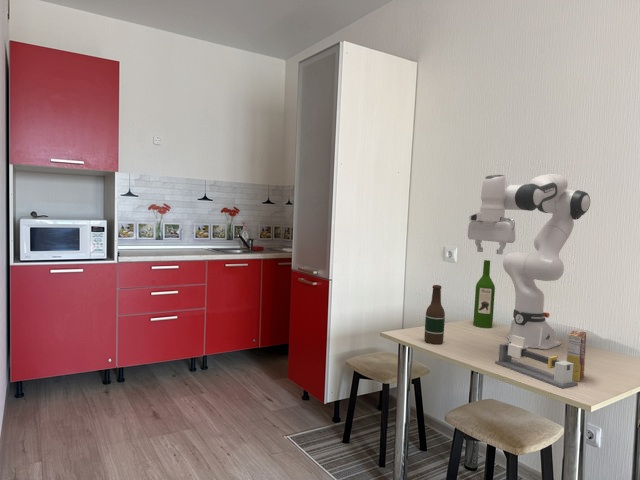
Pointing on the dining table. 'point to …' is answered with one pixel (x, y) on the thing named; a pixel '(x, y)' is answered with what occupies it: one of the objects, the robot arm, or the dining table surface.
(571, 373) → the linear slide rail
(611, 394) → the dining table surface
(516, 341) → the white rectangular block
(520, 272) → the robot arm
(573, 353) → the candy box
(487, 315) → the wine bottle
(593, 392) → the dining table surface
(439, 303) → the beer bottle
